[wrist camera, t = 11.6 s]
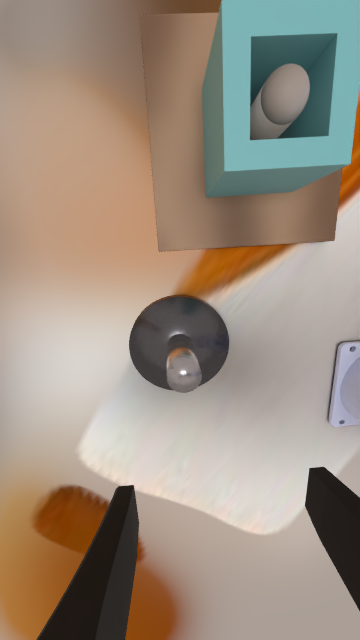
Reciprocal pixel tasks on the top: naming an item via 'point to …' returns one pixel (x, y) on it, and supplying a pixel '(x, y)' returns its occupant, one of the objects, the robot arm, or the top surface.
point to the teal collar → (249, 77)
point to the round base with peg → (179, 343)
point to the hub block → (188, 148)
